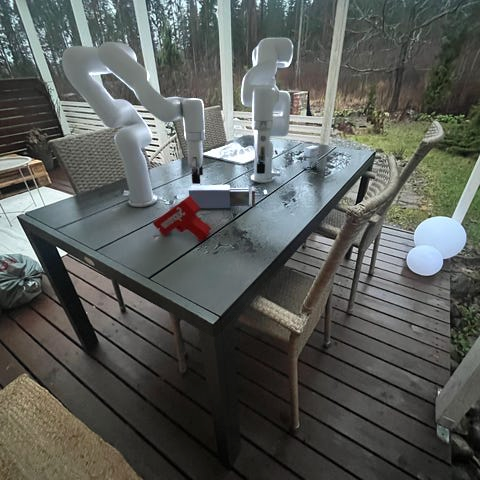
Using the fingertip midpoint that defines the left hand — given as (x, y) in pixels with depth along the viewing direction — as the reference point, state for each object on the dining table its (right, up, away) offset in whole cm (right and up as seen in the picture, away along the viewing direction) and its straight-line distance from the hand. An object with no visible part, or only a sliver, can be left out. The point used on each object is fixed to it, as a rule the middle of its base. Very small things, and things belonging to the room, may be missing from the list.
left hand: (197, 179), depth 111 cm
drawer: (+19, -10, +6) cm, 22 cm away
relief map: (+14, +33, +74) cm, 83 cm away
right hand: (+26, +2, -1) cm, 26 cm away
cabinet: (+5, -11, +7) cm, 13 cm away
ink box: (+59, +19, +52) cm, 81 cm away
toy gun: (-3, -23, -13) cm, 27 cm away
